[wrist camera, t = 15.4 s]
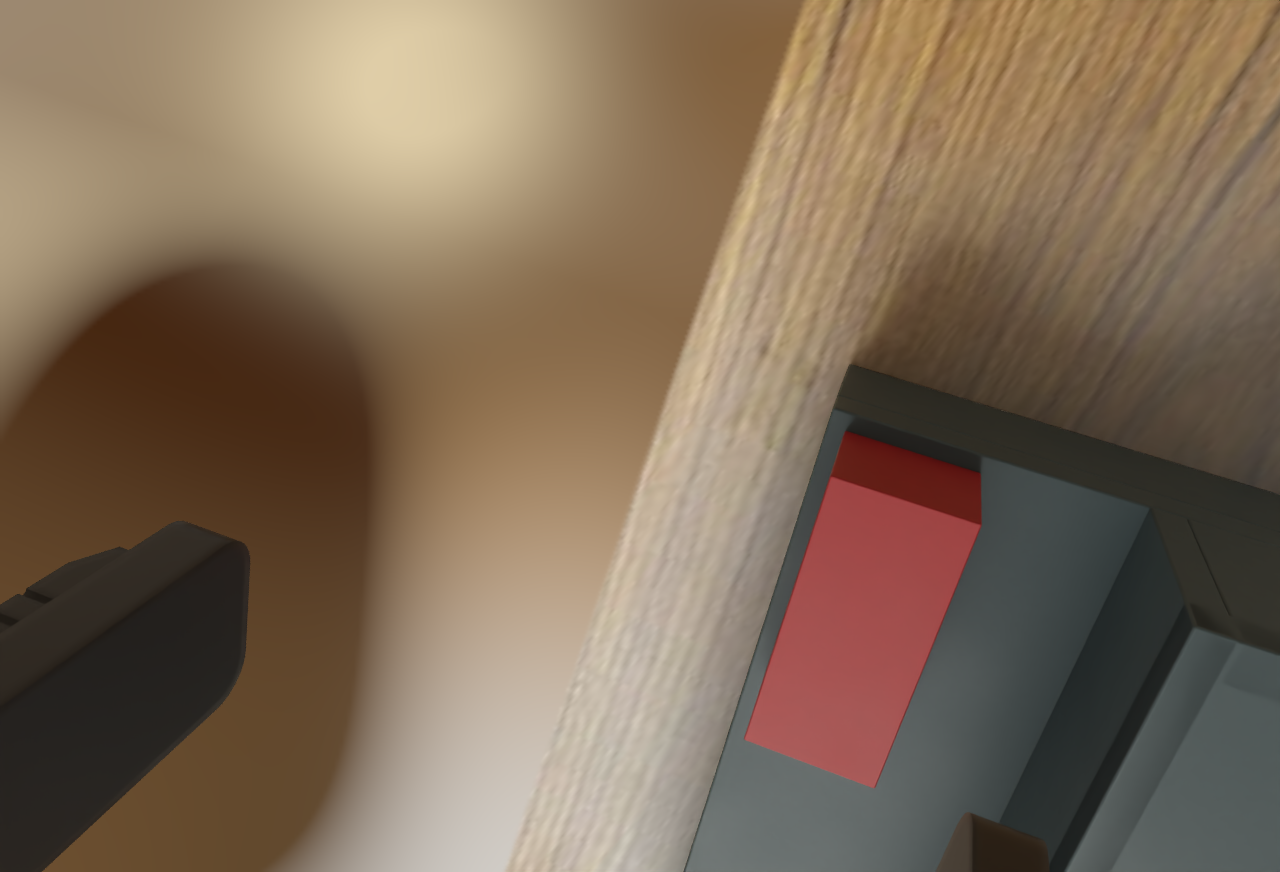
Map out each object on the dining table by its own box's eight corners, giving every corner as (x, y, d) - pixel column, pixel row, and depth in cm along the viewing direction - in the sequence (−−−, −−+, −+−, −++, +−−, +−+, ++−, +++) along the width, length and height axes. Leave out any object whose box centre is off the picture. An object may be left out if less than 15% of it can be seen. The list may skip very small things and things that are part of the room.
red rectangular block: (844, 430, 31) (830, 475, 28) (981, 472, 30) (982, 524, 27) (764, 675, 34) (743, 740, 31) (884, 719, 34) (874, 789, 30)
